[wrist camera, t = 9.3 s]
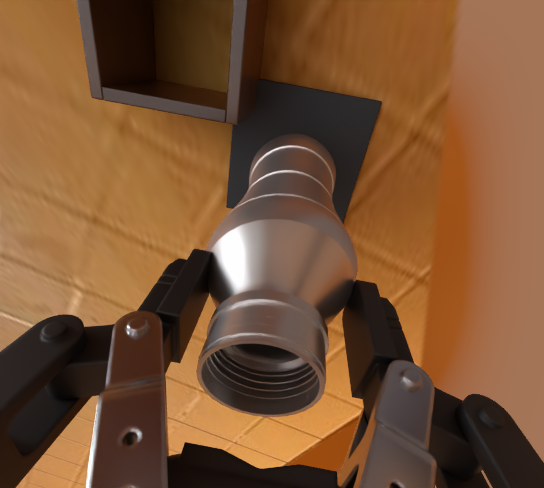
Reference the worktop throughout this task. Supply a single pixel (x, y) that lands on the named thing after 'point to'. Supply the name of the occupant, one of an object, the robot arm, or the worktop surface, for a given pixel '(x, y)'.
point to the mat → (304, 133)
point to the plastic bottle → (277, 283)
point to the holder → (141, 60)
